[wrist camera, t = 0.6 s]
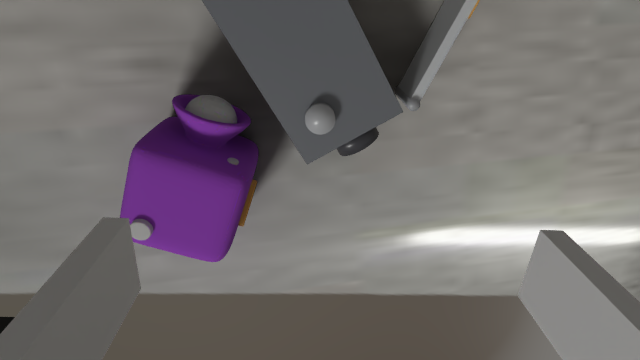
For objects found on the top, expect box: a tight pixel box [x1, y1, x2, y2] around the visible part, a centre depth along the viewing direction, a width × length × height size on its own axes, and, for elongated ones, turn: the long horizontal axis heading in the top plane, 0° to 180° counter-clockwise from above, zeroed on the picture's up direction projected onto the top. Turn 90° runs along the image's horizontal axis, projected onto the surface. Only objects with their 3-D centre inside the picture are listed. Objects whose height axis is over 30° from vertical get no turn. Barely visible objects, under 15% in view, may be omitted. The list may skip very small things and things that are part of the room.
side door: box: [394, 0, 480, 111], centre depth 33 cm, size 10×2×6 cm, turn 155°
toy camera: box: [120, 94, 258, 262], centre depth 35 cm, size 11×14×10 cm
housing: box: [202, 0, 403, 164], centre depth 33 cm, size 18×9×7 cm, turn 30°
